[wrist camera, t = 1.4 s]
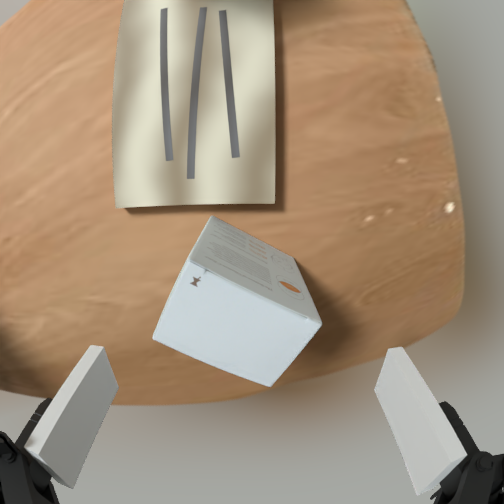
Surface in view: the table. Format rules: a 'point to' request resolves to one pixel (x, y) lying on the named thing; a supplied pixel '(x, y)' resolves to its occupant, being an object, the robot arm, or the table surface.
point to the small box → (239, 306)
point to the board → (194, 103)
